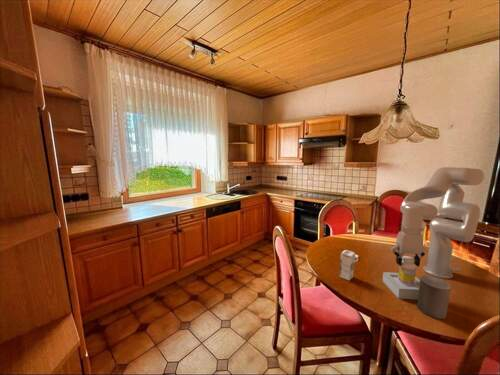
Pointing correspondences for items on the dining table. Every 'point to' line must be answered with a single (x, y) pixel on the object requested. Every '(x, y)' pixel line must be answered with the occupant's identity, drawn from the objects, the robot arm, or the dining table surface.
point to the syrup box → (347, 265)
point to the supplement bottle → (407, 271)
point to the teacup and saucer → (356, 257)
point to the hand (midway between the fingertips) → (407, 264)
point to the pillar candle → (433, 296)
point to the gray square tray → (401, 286)
